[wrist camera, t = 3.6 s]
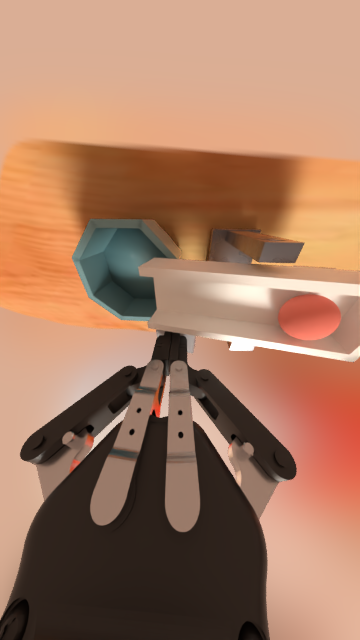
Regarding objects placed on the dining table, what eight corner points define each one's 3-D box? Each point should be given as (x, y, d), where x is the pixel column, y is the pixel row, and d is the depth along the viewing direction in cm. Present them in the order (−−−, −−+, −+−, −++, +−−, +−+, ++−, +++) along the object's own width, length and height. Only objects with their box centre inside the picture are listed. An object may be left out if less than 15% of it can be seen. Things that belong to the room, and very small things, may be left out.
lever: (347, 260, 11) (440, 291, 6) (290, 343, 16) (317, 391, 12) (165, 250, 14) (138, 266, 9) (169, 324, 19) (153, 357, 14)
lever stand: (256, 229, 15) (336, 241, 7) (237, 298, 20) (269, 352, 12) (211, 228, 16) (236, 239, 7) (203, 297, 21) (212, 349, 12)
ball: (373, 309, 7) (318, 310, 7) (333, 349, 9) (289, 351, 9) (320, 286, 9) (279, 287, 9) (298, 321, 11) (263, 322, 11)
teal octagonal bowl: (181, 219, 15) (178, 219, 11) (180, 300, 21) (178, 322, 17) (93, 218, 16) (54, 218, 11) (116, 298, 22) (98, 318, 17)
